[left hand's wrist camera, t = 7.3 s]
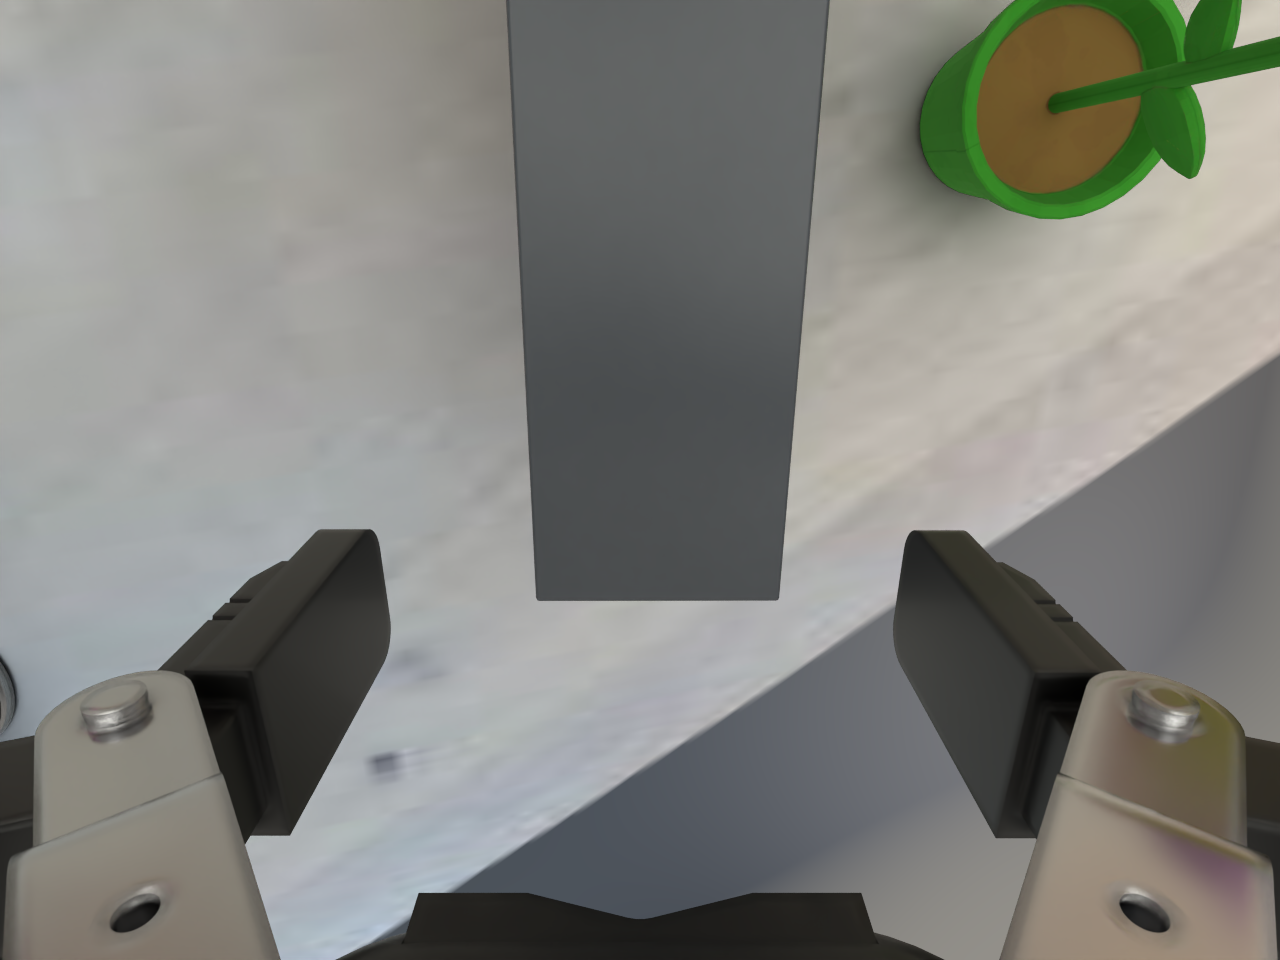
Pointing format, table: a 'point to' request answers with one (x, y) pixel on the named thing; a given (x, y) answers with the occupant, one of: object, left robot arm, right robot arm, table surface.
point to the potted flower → (1080, 100)
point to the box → (662, 285)
